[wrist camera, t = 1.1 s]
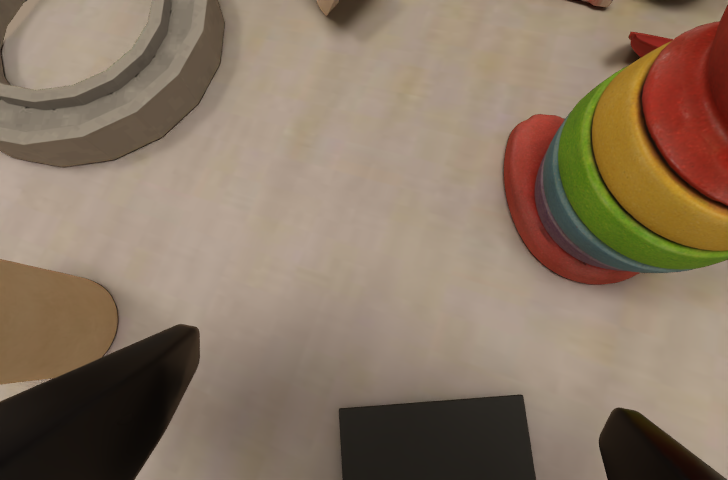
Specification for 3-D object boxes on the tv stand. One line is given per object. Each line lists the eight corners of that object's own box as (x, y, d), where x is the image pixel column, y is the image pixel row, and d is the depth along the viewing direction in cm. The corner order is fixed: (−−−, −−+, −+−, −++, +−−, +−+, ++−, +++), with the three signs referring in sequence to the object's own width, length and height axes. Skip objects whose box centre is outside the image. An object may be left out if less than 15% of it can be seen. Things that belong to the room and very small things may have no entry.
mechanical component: (-35, 204, 25) (-87, 186, 22) (-63, -30, 29) (-110, -71, 26) (254, 117, 27) (241, 90, 24) (188, -94, 31) (170, -139, 28)
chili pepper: (606, 26, 26) (592, 58, 27) (669, 41, 23) (650, 77, 24) (729, 50, 30) (713, 77, 31) (799, 65, 26) (778, 95, 28)
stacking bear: (680, 150, 26) (1299, -222, 9) (671, 307, 24) (1482, 222, 7) (510, 115, 27) (779, -298, 9) (485, 265, 24) (780, 83, 7)
